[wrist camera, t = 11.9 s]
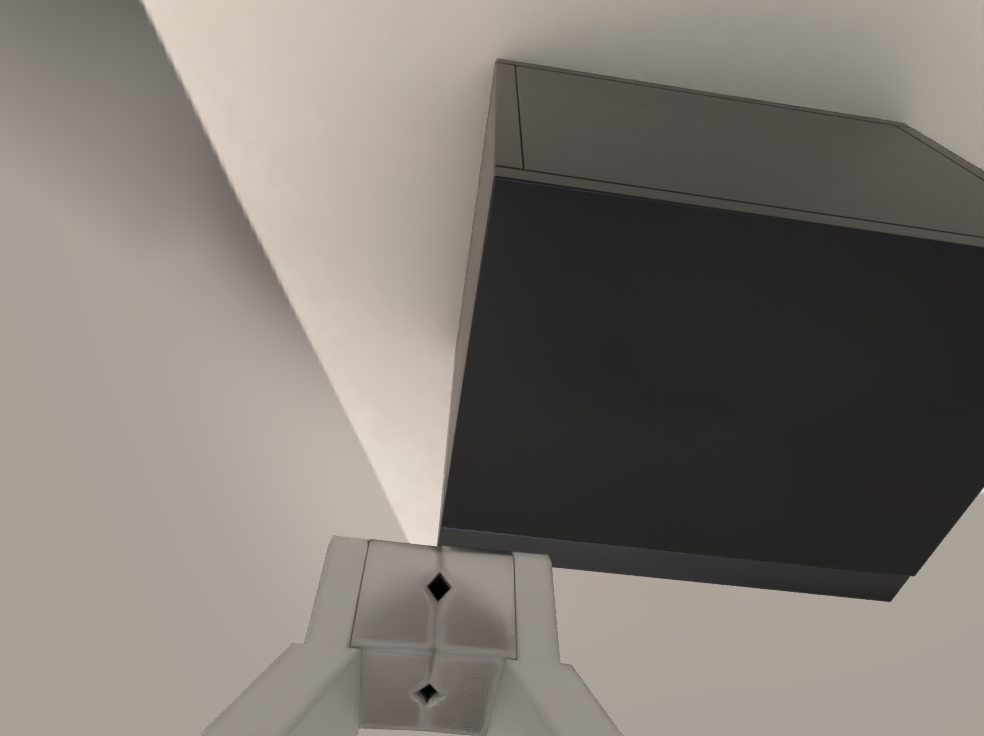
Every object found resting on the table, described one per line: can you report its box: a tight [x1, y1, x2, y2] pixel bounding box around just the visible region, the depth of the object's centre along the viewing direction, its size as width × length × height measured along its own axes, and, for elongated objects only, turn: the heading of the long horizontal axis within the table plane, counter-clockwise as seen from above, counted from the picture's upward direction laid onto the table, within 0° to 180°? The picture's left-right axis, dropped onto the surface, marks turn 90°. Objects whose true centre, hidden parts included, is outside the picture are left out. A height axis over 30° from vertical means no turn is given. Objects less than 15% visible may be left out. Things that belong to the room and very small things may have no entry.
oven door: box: [437, 329, 910, 602], centre depth 33 cm, size 5×18×14 cm, turn 82°
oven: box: [441, 59, 984, 576], centre depth 27 cm, size 13×18×14 cm
